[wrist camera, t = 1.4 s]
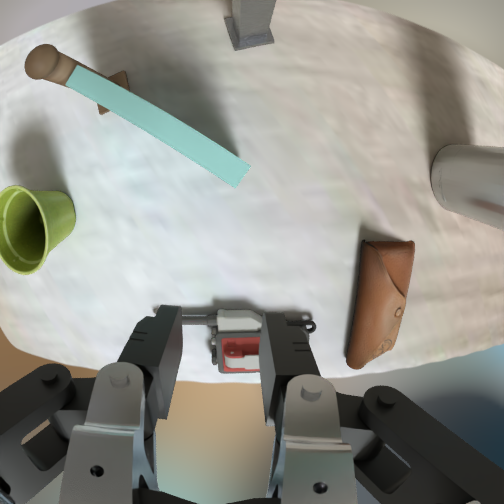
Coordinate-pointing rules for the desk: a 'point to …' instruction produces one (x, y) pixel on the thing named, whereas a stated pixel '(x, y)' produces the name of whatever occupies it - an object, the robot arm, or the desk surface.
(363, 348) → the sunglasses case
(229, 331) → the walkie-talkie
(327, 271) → the desk surface
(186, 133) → the gate
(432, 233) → the desk surface
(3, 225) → the plant pot
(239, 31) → the latch post
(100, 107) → the hinge post
